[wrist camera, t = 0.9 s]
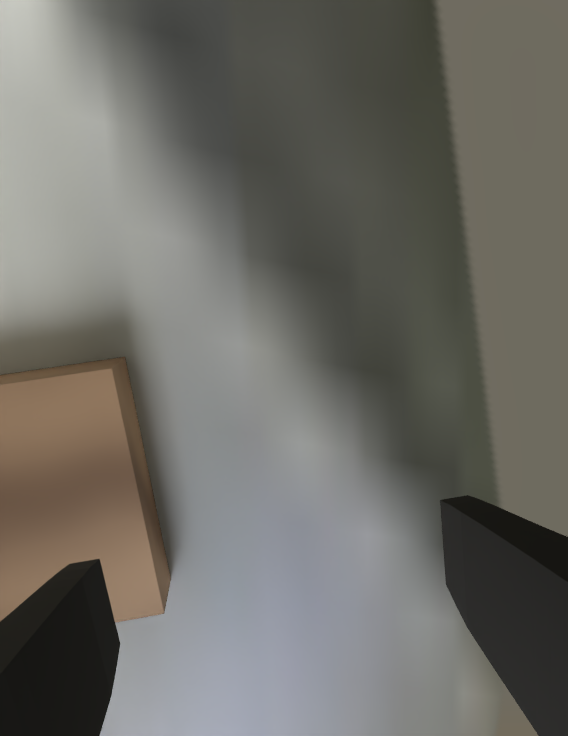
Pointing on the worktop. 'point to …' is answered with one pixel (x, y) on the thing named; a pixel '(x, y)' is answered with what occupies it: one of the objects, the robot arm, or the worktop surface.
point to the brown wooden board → (77, 487)
